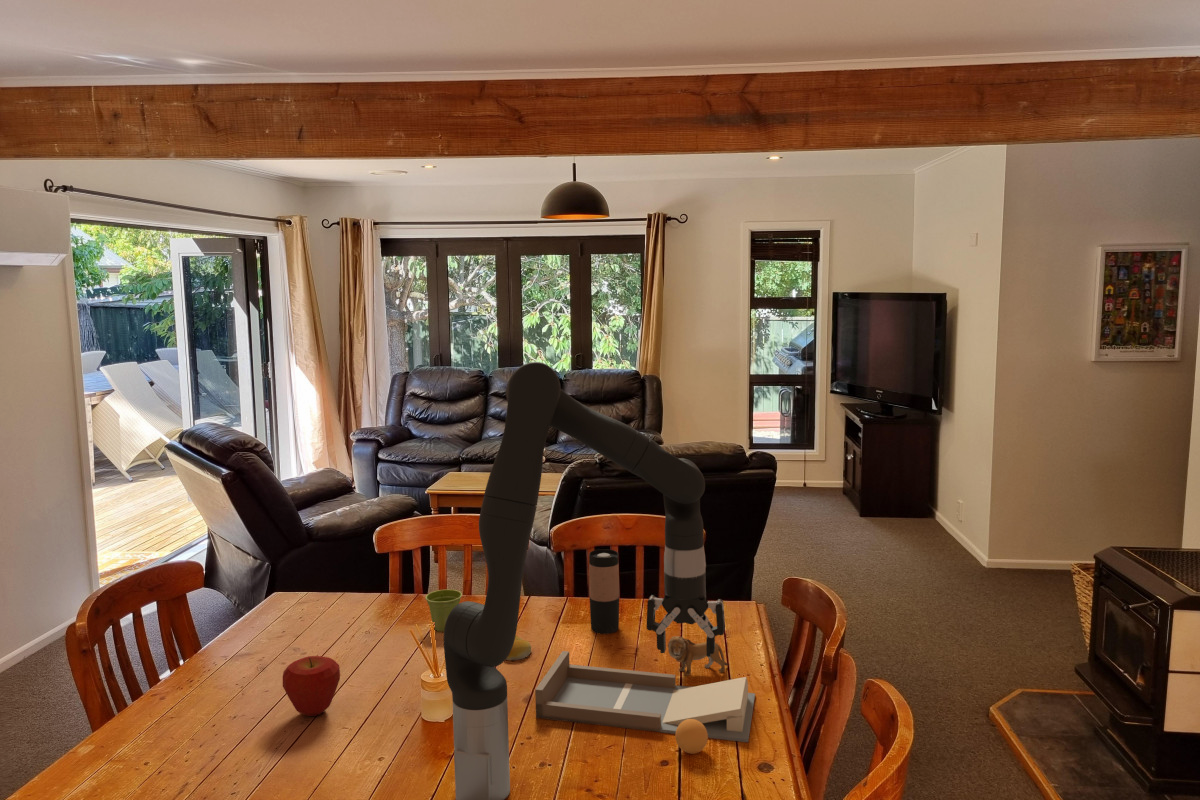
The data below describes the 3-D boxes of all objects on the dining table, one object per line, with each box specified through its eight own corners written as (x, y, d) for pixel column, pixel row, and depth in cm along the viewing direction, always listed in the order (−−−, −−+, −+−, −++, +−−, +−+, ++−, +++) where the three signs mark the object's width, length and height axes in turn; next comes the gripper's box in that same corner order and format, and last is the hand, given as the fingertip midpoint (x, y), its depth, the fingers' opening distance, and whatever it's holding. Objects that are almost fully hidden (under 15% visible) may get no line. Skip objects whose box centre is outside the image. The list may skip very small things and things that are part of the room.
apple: (282, 730, 163) (278, 672, 162) (287, 705, 174) (284, 650, 172) (341, 722, 166) (337, 665, 165) (342, 697, 177) (339, 643, 175)
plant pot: (419, 632, 211) (418, 600, 210) (437, 619, 220) (436, 587, 219) (452, 636, 209) (451, 603, 208) (469, 622, 218) (468, 590, 217)
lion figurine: (673, 681, 182) (673, 642, 181) (664, 671, 187) (663, 633, 186) (733, 671, 186) (733, 633, 185) (722, 661, 191) (722, 624, 190)
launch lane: (754, 699, 175) (755, 669, 174) (748, 746, 156) (748, 712, 156) (563, 679, 185) (562, 650, 184) (536, 721, 167) (535, 689, 166)
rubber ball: (705, 762, 150) (705, 730, 149) (673, 758, 151) (672, 727, 151) (709, 744, 156) (709, 714, 155) (678, 741, 157) (678, 711, 156)
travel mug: (585, 626, 214) (583, 551, 211) (611, 621, 217) (610, 547, 215) (597, 636, 207) (596, 559, 205) (624, 631, 210) (623, 555, 208)
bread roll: (510, 664, 192) (510, 648, 192) (489, 652, 199) (489, 637, 198) (539, 654, 197) (538, 638, 197) (517, 643, 204) (517, 627, 204)
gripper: (642, 573, 148) (644, 659, 150) (722, 577, 145) (723, 665, 147) (649, 560, 155) (651, 642, 157) (725, 564, 152) (726, 647, 154)
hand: (686, 653), depth 152 cm, fingers open, 8 cm apart
